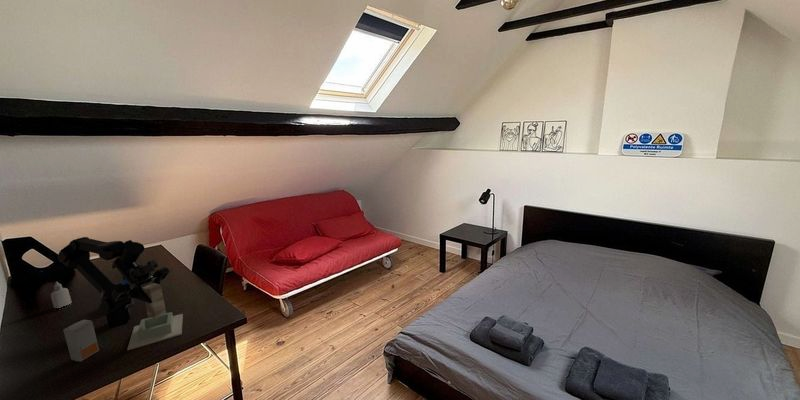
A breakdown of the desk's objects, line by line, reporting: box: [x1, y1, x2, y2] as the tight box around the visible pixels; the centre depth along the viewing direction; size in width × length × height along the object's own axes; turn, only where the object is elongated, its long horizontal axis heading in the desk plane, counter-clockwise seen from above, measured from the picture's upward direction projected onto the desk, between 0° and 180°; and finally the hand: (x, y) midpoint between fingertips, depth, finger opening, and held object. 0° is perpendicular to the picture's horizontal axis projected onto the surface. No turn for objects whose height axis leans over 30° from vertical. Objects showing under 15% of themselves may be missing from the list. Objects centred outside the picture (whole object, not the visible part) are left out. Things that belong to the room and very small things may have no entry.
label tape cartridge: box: [117, 280, 135, 307], centre depth 146 cm, size 9×4×12 cm, turn 50°
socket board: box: [127, 311, 184, 351], centre depth 125 cm, size 16×16×4 cm
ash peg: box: [141, 283, 167, 318], centre depth 123 cm, size 4×4×12 cm
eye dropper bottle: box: [50, 281, 73, 309], centre depth 144 cm, size 4×6×12 cm
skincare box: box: [63, 319, 100, 362], centre depth 111 cm, size 6×4×12 cm
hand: (156, 299), depth 122 cm, fingers closed on ash peg, 4 cm apart
